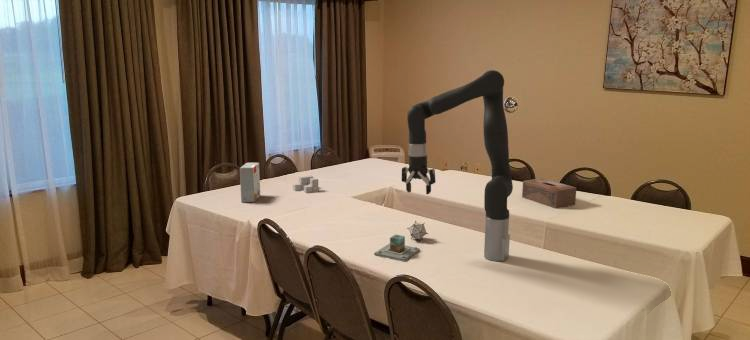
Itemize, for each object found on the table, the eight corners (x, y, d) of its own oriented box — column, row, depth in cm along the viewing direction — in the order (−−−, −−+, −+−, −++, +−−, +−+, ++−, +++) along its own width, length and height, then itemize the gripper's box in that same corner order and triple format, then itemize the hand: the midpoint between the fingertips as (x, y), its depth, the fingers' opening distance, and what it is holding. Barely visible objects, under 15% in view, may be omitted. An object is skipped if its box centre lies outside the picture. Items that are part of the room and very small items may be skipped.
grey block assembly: (293, 189, 328) (292, 177, 327) (311, 187, 334) (310, 175, 332) (299, 194, 318) (299, 181, 316) (318, 191, 324) (318, 179, 322)
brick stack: (404, 249, 225) (404, 236, 224) (399, 253, 221) (399, 239, 220) (395, 247, 227) (395, 234, 226) (390, 251, 223) (390, 237, 222)
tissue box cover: (575, 205, 293) (576, 187, 291) (555, 209, 286) (556, 190, 284) (540, 194, 315) (541, 178, 313) (522, 197, 309) (522, 180, 306)
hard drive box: (254, 202, 300) (252, 167, 296) (241, 202, 301) (238, 167, 296) (260, 195, 316) (259, 162, 311) (248, 195, 316) (246, 162, 311)
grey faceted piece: (416, 248, 239) (407, 235, 233) (410, 236, 246) (401, 222, 240) (433, 239, 239) (425, 225, 233) (427, 227, 246) (419, 213, 240)
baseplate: (419, 250, 227) (419, 247, 226) (404, 261, 215) (404, 257, 215) (390, 244, 234) (390, 241, 234) (374, 255, 222) (374, 251, 222)
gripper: (437, 153, 218) (438, 192, 221) (406, 151, 225) (407, 189, 228) (430, 156, 211) (430, 196, 214) (398, 154, 218) (399, 193, 221)
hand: (418, 192), depth 221 cm, fingers open, 8 cm apart
